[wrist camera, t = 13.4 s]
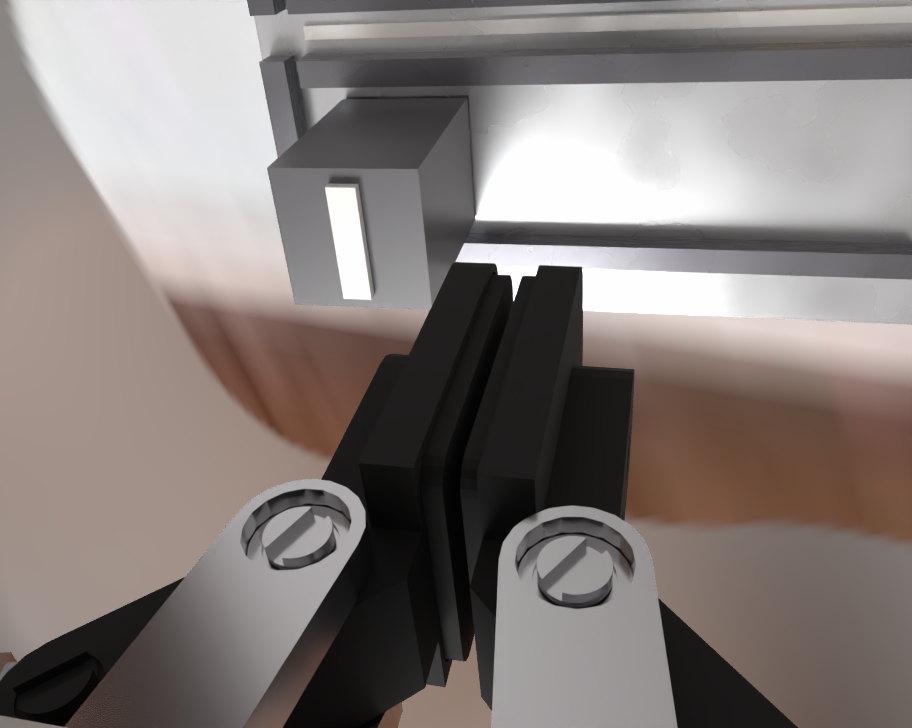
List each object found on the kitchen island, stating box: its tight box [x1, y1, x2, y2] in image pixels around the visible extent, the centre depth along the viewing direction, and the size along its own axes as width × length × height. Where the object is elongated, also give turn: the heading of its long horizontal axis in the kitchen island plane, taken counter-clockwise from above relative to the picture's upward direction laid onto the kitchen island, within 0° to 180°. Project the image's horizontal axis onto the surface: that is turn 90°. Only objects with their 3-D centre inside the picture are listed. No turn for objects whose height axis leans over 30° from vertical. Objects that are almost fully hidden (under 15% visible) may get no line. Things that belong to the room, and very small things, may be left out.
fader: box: [267, 98, 475, 310], centre depth 18 cm, size 3×3×5 cm
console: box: [247, 0, 912, 325], centre depth 18 cm, size 14×16×3 cm
